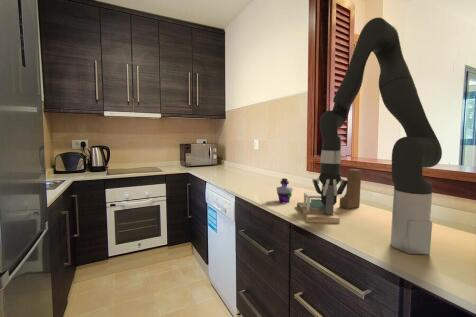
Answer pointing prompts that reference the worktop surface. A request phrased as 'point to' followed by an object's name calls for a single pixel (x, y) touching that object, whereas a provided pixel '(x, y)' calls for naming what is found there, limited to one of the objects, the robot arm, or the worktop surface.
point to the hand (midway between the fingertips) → (328, 204)
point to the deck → (317, 215)
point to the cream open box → (307, 196)
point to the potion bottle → (284, 191)
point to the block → (316, 203)
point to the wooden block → (352, 190)
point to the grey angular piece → (329, 205)
